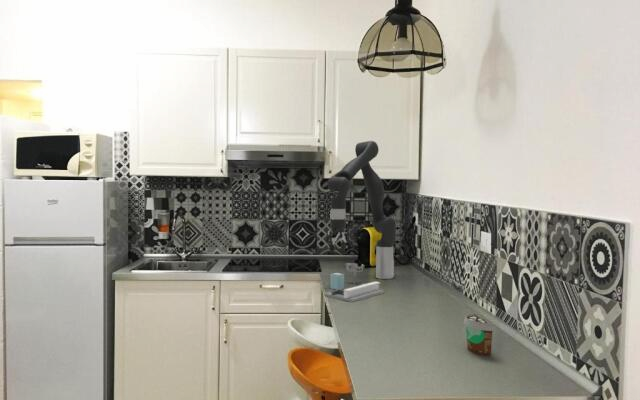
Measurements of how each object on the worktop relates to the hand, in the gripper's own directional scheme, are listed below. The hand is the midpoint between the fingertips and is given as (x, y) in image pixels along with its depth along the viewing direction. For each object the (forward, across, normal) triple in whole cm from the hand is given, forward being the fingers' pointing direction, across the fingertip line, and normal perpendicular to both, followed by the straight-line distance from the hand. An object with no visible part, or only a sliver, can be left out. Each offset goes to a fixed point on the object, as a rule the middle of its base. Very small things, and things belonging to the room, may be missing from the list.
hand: (337, 251), depth 227 cm
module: (+18, 0, 0) cm, 18 cm away
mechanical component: (+18, -15, -1) cm, 24 cm away
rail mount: (+18, +4, +14) cm, 23 cm away
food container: (+18, +36, +85) cm, 94 cm away
